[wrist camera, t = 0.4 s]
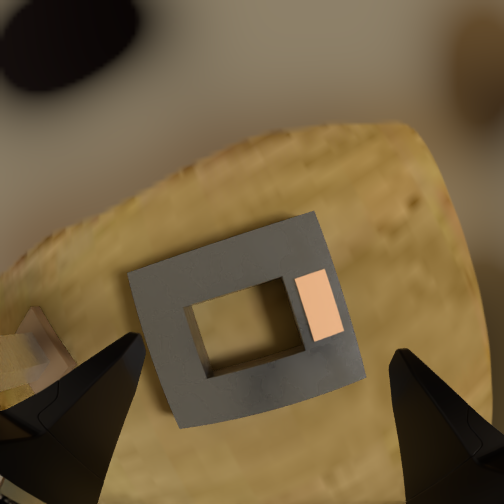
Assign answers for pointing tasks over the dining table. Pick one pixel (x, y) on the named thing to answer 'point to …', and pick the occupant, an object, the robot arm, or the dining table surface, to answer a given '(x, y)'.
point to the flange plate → (233, 280)
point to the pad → (47, 348)
